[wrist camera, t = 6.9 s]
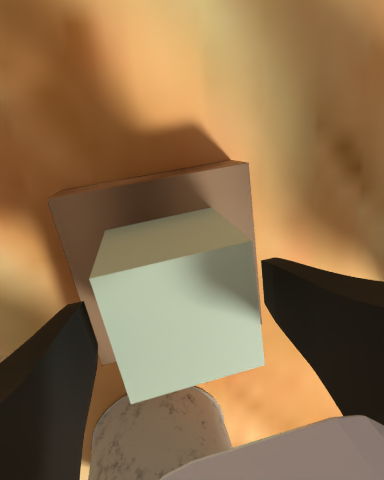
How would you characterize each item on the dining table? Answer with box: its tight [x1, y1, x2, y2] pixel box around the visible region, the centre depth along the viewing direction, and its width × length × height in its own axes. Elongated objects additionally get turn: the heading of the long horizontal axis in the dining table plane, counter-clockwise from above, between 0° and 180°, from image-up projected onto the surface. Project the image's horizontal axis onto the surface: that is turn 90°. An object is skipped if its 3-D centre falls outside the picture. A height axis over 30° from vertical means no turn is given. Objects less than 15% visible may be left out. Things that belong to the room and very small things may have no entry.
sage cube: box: [89, 208, 265, 404], centre depth 12 cm, size 5×5×5 cm
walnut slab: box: [47, 160, 262, 366], centre depth 15 cm, size 9×9×2 cm
